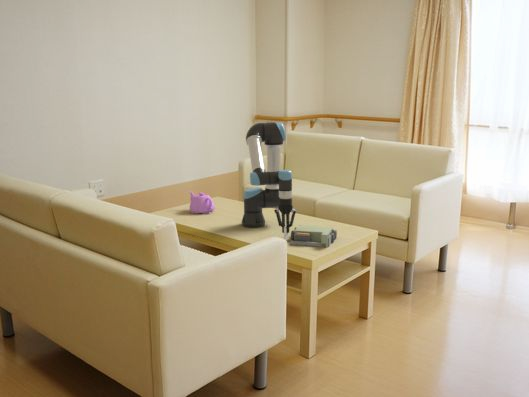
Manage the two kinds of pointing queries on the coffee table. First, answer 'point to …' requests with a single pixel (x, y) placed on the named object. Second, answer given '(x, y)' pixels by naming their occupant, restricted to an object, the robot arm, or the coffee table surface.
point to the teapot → (201, 203)
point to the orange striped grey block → (303, 237)
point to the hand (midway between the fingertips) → (285, 238)
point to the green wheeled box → (315, 235)
